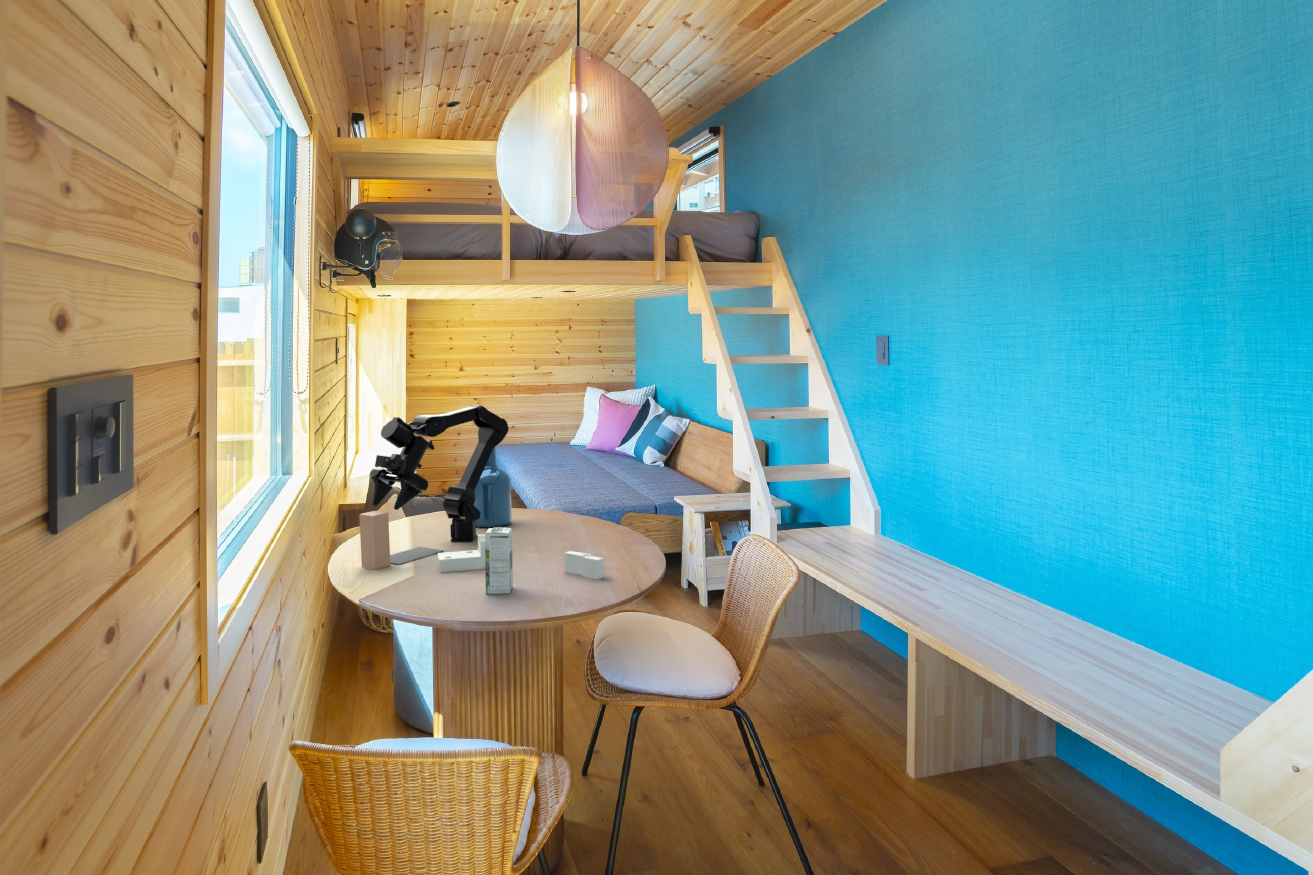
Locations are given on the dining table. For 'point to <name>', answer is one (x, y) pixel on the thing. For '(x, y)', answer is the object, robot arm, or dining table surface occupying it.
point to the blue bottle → (493, 496)
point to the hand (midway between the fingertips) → (384, 507)
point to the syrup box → (498, 560)
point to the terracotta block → (374, 539)
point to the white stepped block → (584, 564)
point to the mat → (412, 555)
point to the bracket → (463, 558)
